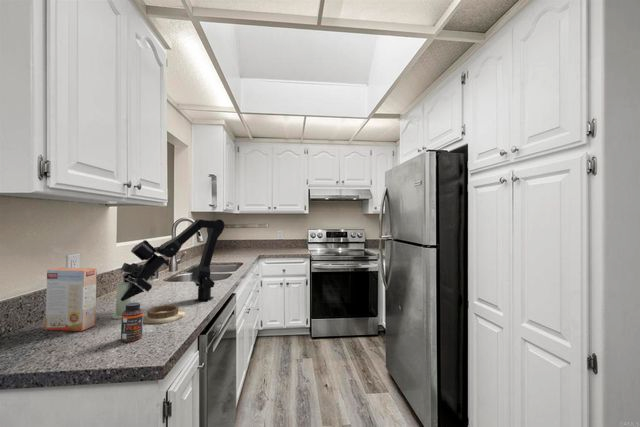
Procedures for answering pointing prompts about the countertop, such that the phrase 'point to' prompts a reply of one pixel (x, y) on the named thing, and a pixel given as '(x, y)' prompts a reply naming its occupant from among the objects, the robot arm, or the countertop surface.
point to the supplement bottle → (132, 322)
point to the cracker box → (70, 299)
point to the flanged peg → (120, 304)
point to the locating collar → (163, 314)
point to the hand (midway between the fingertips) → (119, 299)
